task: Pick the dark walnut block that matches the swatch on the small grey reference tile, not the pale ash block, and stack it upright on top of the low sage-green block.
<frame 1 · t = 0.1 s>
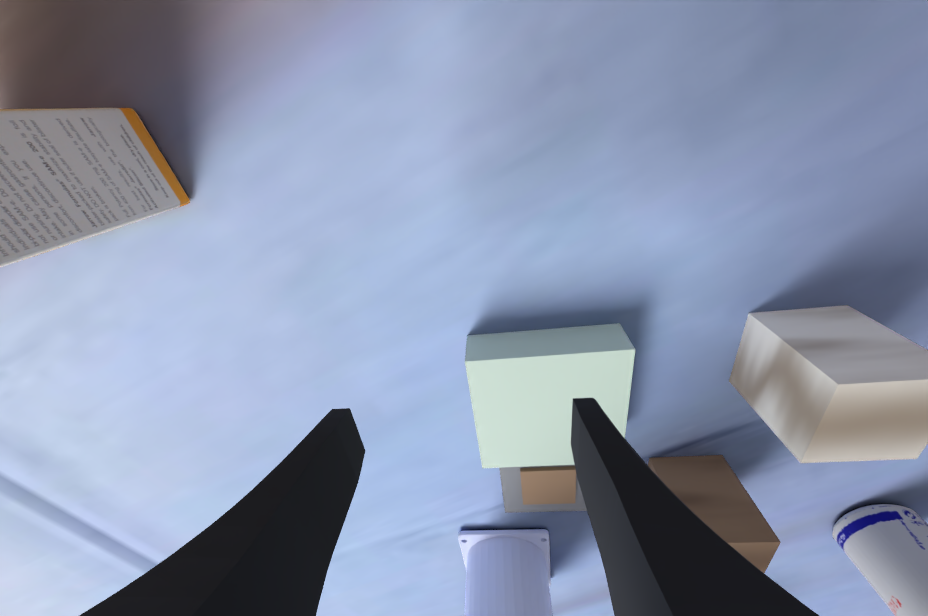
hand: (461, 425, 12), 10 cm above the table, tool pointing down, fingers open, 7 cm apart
walnut block: (679, 477, 28), on the table
reference tile: (546, 474, 28), on the table
green block: (542, 382, 24), on the table
ash block: (783, 345, 21), on the table
supplement box: (104, 176, 19), on the table
white canister: (865, 517, 29), on the table
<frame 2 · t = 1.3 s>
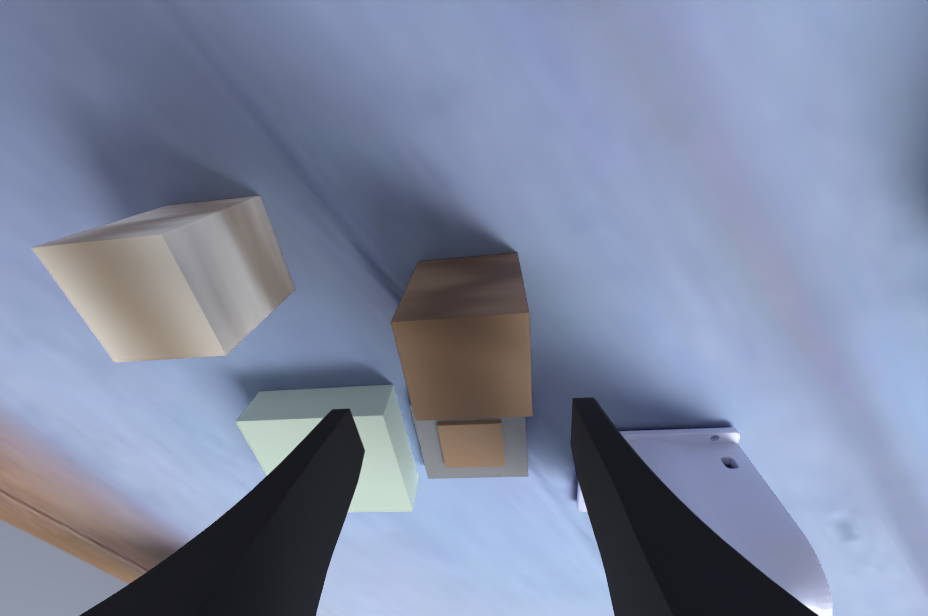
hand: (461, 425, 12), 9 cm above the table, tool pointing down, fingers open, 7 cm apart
walnut block: (472, 300, 19), on the table
reference tile: (472, 433, 24), on the table
green block: (346, 432, 26), on the table
ash block: (233, 249, 19), on the table
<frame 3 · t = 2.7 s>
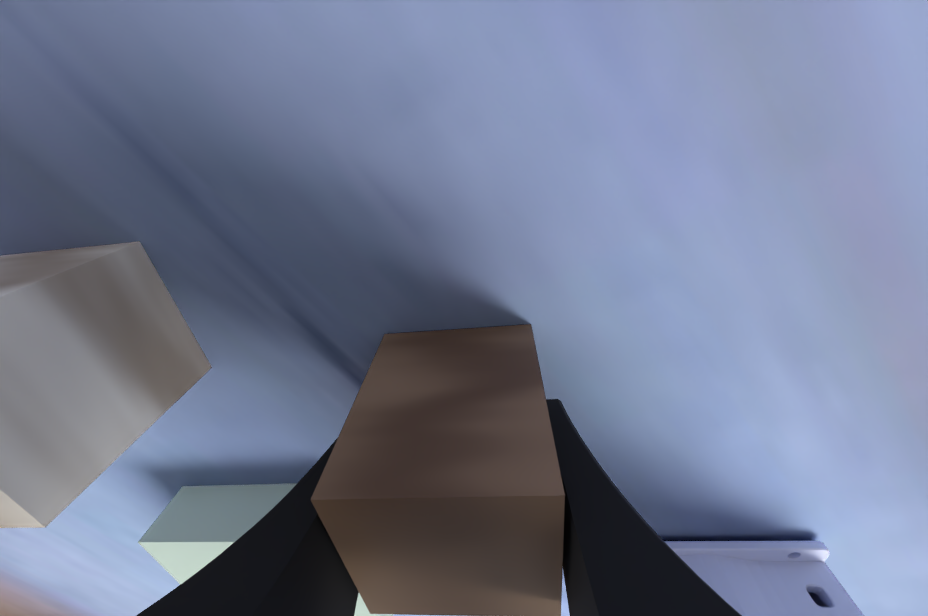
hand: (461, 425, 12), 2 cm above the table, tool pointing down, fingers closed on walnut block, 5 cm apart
walnut block: (464, 385, 13), on the table, touching gripper
green block: (303, 529, 20), on the table
ash block: (116, 314, 13), on the table
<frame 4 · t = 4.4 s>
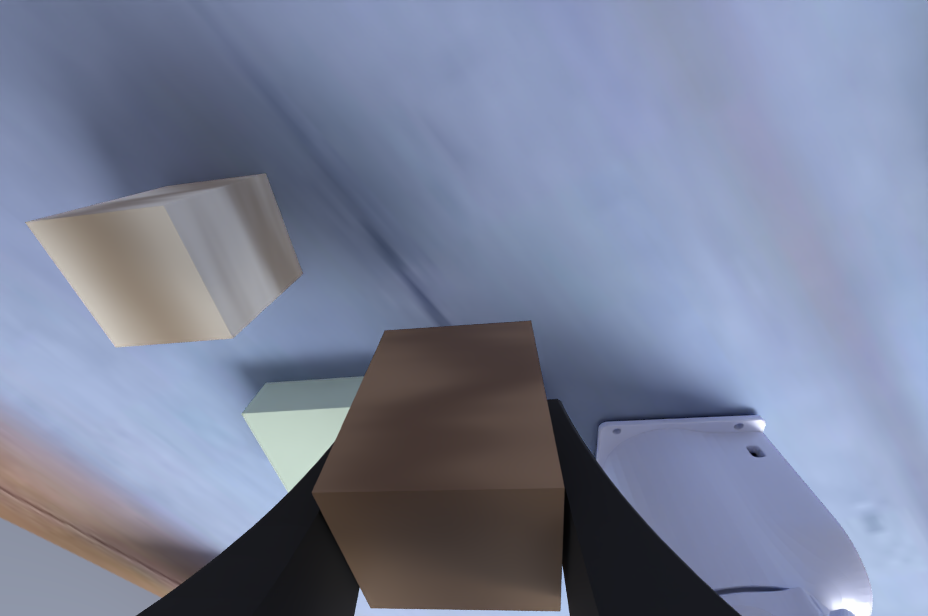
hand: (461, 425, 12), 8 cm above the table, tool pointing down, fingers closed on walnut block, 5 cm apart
walnut block: (464, 382, 13), point 6 cm above the table, touching gripper
green block: (355, 424, 25), on the table
ash block: (238, 231, 18), on the table
when the fingers open (6 cm above the table, at t = 6.1 s): walnut block drops 1 cm, point 2 cm above the table.
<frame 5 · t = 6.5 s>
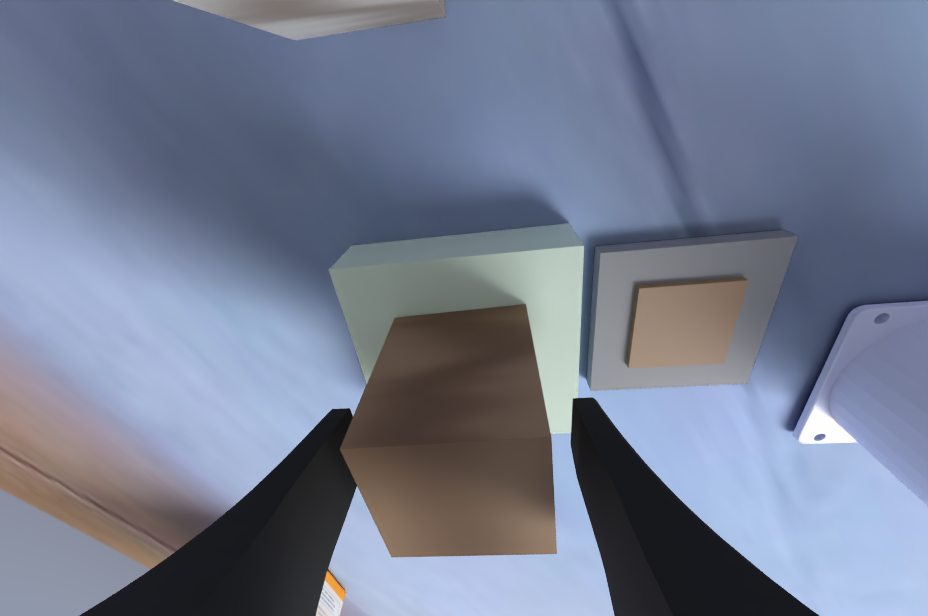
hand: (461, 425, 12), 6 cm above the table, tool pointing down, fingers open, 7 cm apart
walnut block: (468, 363, 15), point 2 cm above the table
reference tile: (671, 314, 16), on the table
green block: (469, 321, 17), on the table
supplement box: (303, 566, 29), on the table
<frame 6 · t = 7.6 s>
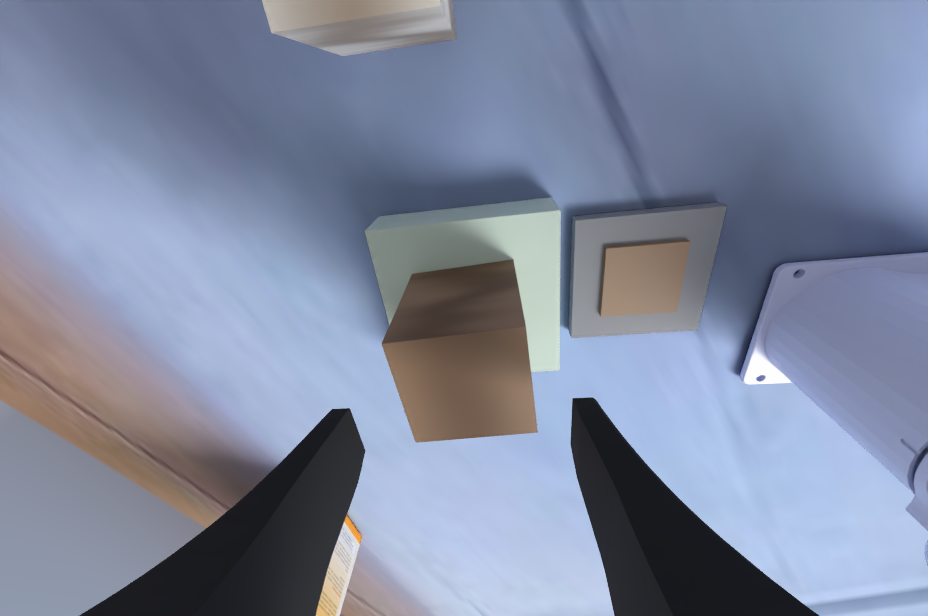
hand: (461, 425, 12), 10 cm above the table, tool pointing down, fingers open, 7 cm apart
walnut block: (470, 311, 19), point 3 cm above the table
reference tile: (635, 273, 20), on the table
green block: (472, 281, 21), on the table
supplement box: (324, 512, 33), on the table
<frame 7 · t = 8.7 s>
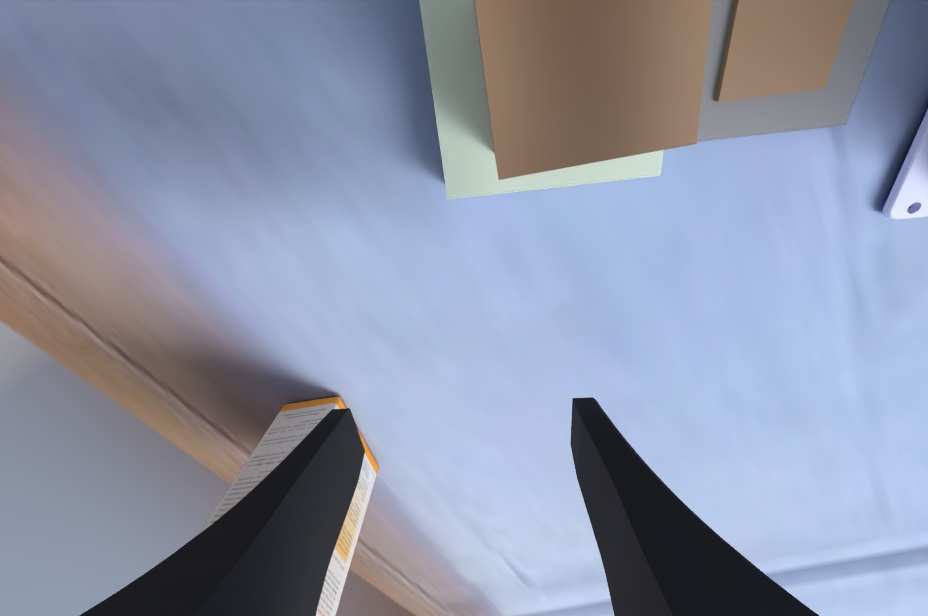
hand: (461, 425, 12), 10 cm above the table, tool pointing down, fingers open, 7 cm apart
walnut block: (551, 69, 13), point 2 cm above the table, touching green block
reference tile: (767, 38, 15), on the table
green block: (539, 69, 16), on the table, touching walnut block
supplement box: (335, 435, 28), on the table
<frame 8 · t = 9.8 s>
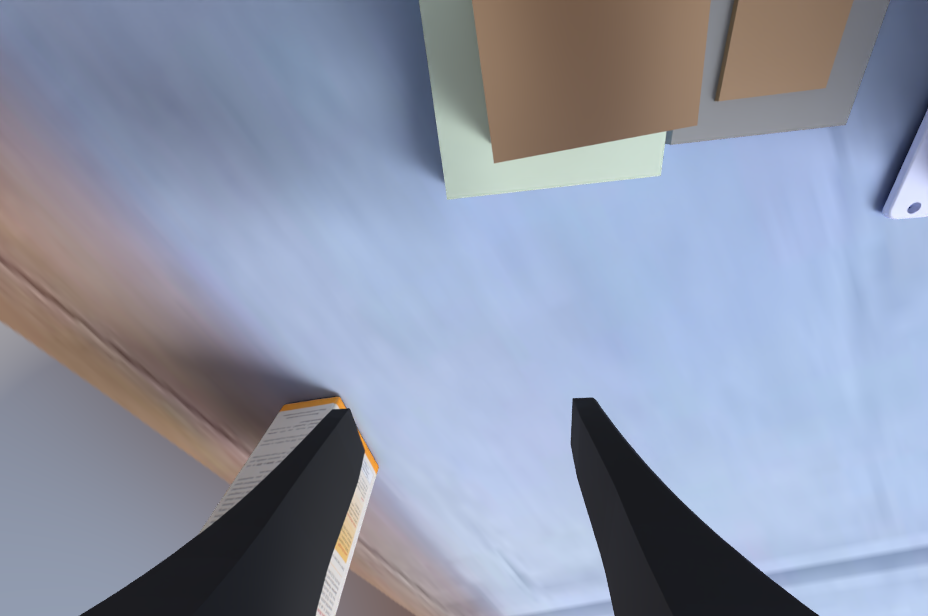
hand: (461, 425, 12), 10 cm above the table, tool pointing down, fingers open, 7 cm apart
walnut block: (549, 57, 13), point 3 cm above the table, touching green block
reference tile: (767, 38, 15), on the table
green block: (539, 69, 16), on the table, touching walnut block
supplement box: (335, 435, 28), on the table
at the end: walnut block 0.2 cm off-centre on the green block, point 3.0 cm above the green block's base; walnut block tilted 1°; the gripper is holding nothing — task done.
